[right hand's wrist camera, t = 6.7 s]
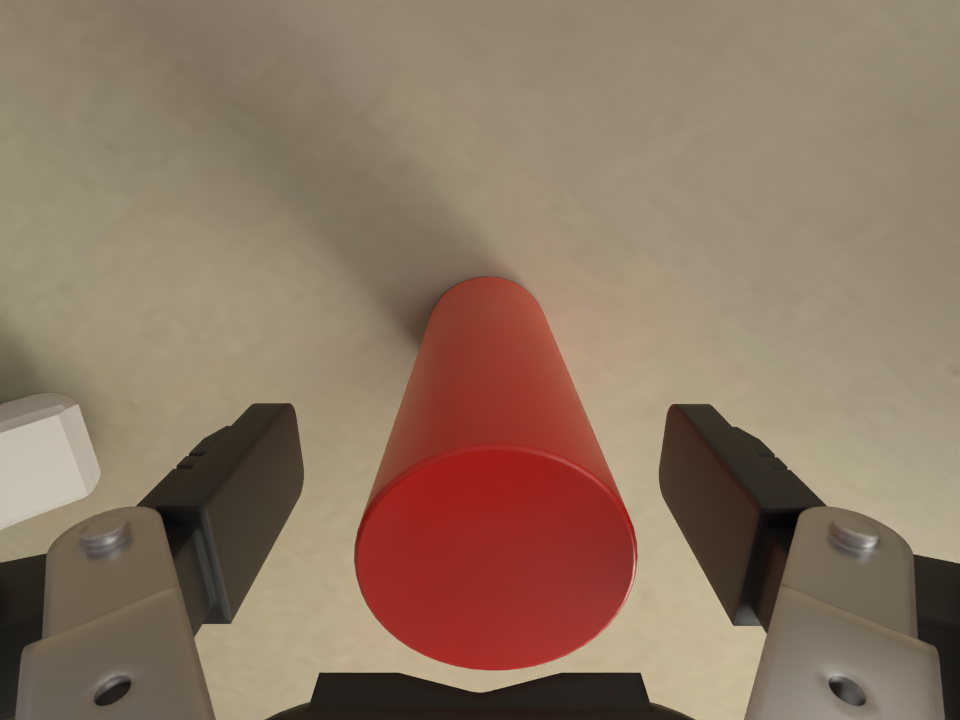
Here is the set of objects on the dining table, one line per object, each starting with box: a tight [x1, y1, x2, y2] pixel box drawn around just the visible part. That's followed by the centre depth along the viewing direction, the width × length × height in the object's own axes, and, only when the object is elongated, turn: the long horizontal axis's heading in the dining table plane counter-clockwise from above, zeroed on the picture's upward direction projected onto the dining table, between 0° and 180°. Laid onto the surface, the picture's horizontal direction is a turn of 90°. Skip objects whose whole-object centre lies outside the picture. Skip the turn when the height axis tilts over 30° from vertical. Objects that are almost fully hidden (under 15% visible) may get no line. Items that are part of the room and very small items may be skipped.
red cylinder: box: [354, 277, 638, 670], centre depth 13 cm, size 4×4×11 cm
